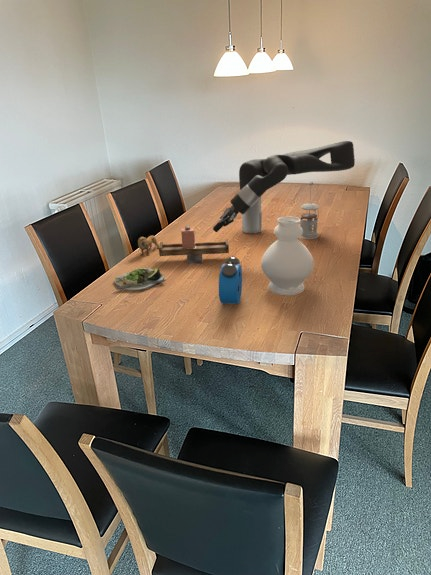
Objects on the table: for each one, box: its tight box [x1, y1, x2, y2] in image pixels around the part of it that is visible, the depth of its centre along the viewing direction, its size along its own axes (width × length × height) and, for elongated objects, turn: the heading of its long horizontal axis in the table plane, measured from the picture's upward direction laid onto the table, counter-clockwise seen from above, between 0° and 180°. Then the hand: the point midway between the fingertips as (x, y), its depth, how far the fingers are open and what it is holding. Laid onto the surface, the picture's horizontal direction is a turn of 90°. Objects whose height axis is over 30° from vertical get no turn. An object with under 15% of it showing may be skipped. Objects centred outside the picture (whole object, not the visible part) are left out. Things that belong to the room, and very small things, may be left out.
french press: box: [299, 181, 320, 240], centre depth 198 cm, size 10×12×25 cm
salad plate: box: [113, 267, 167, 292], centre depth 162 cm, size 19×18×5 cm
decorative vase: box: [260, 215, 314, 296], centre depth 149 cm, size 18×18×25 cm
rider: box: [180, 225, 196, 249], centre depth 176 cm, size 5×4×9 cm
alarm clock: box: [218, 255, 243, 307], centre depth 143 cm, size 13×6×15 cm, turn 169°
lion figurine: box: [137, 235, 160, 257], centre depth 189 cm, size 15×5×9 cm, turn 164°
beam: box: [158, 238, 230, 265], centre depth 179 cm, size 28×7×8 cm, turn 91°
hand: (214, 230), depth 175 cm, fingers closed
